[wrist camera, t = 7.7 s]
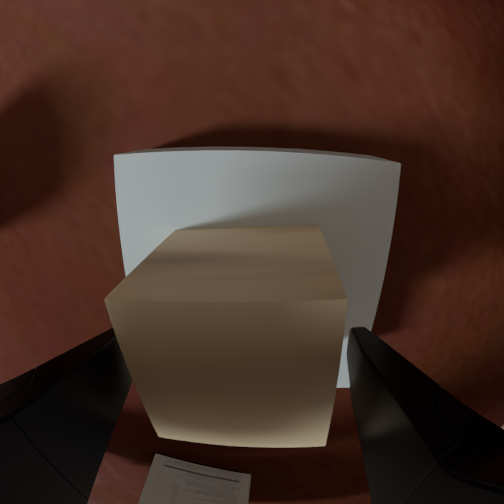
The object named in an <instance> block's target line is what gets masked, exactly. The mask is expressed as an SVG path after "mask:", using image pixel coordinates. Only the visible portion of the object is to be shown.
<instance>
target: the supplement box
mask: <svg viewBox="0 0 504 504" xmlns="http://www.w3.org/2000/svg"><path fill="white" fill-rule="evenodd" d="M250 483H251V475H250V474H245V473H239V472H233V471H227V470H222V469H217V468H212V467H207V466H203V465H198V464H194V463H190V462H186V461H182V460H178V459H175V458H171V457H167V456H164V455H160V454H157V453H156V454H155V455H154V459H153V462H152V465H151V468H150V470H149V473H148V476H147V479H146V482H145V485H144V488H143V491H142V494H141V497H140V500H139V503H138V504H248V500H249V492H250Z"/></svg>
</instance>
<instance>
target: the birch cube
mask: <svg viewBox="0 0 504 504" xmlns="http://www.w3.org/2000/svg"><path fill="white" fill-rule="evenodd" d="M104 301H105V304H106V307H107V310H108V314H109V317H110V320H111V323H112V326H113V329H114V332H115V335H116V338H117V340H118V343H119V346H120V349H121V352H122V354H123V357H124V360H125V362H126V365H127V367H128V370H129V372H130V375H131V377H132V380H133V382H134V385H135V387H136V389H137V392H138V394H139V396H140V399H141V401H142V403H143V405H144V408H145V410H146V412H147V414H148V416H149V418H150V420H151V422H152V425H153V427H154V429H155V431H156V433H157V435H158V437H162V438H168V439H174V440H181V441H188V442H196V443H205V444H215V445H226V446H241V447H269V448H290V447H318V446H326V441H327V436H328V431H329V426H330V421H331V416H332V411H333V405H334V399H335V393H336V387H337V381H338V374H339V368H340V361H341V353H342V345H343V337H344V329H345V319H346V309H347V297H346V294H345V291H344V288H343V286H342V283H341V280H340V278H339V275H338V272H337V269H336V267H335V264H334V262H333V259H332V256H331V254H330V251H329V249H328V246H327V244H326V241H325V239H324V236H323V234H322V231H321V229H320V226H319V225H286V226H256V227H230V228H207V229H187V230H175V231H174V232H172V233H171V234H170V235H169V236H168V237H167V238H166V239H165V240H164V241H163V242H162V243H161V244H160V245H158V246H157V247H156V248H155V249H154V250H153V251H152V252H151V253H150V254H149V255H148V256H147V257H146V258H145V259H144V260H143V261H142V262H141V263H140V264H139V265H138V266H137V267H136V268H135V269H133V270H132V271H131V272H130V273H129V274H128V275H127V276H126V277H125V278H124V279H123V280H122V281H121V282H120V283H119V284H118V285H117V286H116V287H115V288H114V289H113V290H112V291H111V292H110V293H109V294H108V295H107V296H106V298H105V299H104Z"/></svg>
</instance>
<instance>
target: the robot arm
mask: <svg viewBox="0 0 504 504" xmlns="http://www.w3.org/2000/svg"><path fill="white" fill-rule="evenodd" d="M347 364H348V373H349V382H350V392H351V401H352V406H353V411H354V415H355V420H356V425H357V429H358V434H359V439H360V443H361V448H362V453H363V458H364V464H365V469H366V474H367V480H368V485H369V491H370V497H371V503H372V504H504V430H503V429H502V428H500V427H499V426H497V425H495V424H494V423H492V422H491V421H489V420H487V419H486V418H484V417H483V416H481V415H480V414H478V413H477V412H475V411H474V410H472V409H471V408H469V407H468V406H466V405H465V404H463V403H462V402H461V401H459V400H458V399H457V398H455V397H454V396H453V395H451V394H450V393H449V392H448V391H446V390H445V389H444V388H442V389H441V386H440V385H439V384H437V383H436V382H435V381H433V380H432V379H431V378H430V377H428V376H427V375H426V374H425V373H423V372H422V371H421V370H420V369H418V368H417V367H416V366H414V365H413V364H412V363H411V362H409V361H408V360H407V359H406V358H404V357H403V356H402V355H400V354H399V353H398V352H397V351H395V350H394V349H393V348H391V347H390V346H389V345H388V344H386V343H385V342H384V341H383V340H381V339H380V338H379V337H377V336H376V335H375V334H374V333H372V332H371V331H370V330H368V329H367V328H366V327H352V328H351V329H350V332H349V339H348V345H347ZM131 382H132V377H131V375H130V372H129V370H128V367H127V365H126V362H125V360H124V357H123V354H122V352H121V349H120V346H119V343H118V340H117V338H116V335H115V332H114V329H113V328H111V329H109V330H107V331H105V332H104V333H102V334H100V335H98V336H96V337H94V338H92V339H90V340H88V341H86V342H84V343H82V344H80V345H78V346H76V347H75V348H73V349H71V350H69V351H67V352H65V353H63V354H61V355H59V356H57V357H55V358H53V359H51V360H49V361H47V362H45V363H44V364H42V365H40V366H38V367H36V369H35V368H34V369H32V370H30V371H28V372H26V373H24V374H22V375H20V376H18V377H16V378H14V379H11V380H9V381H7V382H5V383H2V384H0V504H87V503H88V499H89V496H90V493H91V490H92V487H93V484H94V482H95V479H96V476H97V473H98V470H99V467H100V464H101V462H102V459H103V456H104V454H105V451H106V448H107V445H108V443H109V440H110V437H111V435H112V432H113V430H114V427H115V424H116V422H117V419H118V417H119V414H120V412H121V409H122V407H123V404H124V402H125V399H126V397H127V394H128V392H129V389H130V386H131Z"/></svg>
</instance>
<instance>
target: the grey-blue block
mask: <svg viewBox="0 0 504 504" xmlns="http://www.w3.org/2000/svg"><path fill="white" fill-rule="evenodd" d="M400 169H401V163H398V162H394V161H390V160H387V159H383V158H379V157H375V156H370V155H362V154H353V153H343V152H332V151H321V150H307V149H291V148H270V147H176V148H155V149H146V150H140V151H134V152H128V153H122V154H116V155H114V171H115V187H116V200H117V211H118V221H119V230H120V239H121V247H122V254H123V261H124V268H125V274H126V276H127V275H128V274H129V273H130V272H131V271H132V270H133V269H135V268H136V267H137V266H138V265H139V264H140V263H141V262H142V261H143V260H144V259H145V258H146V257H147V256H148V255H149V254H150V253H151V252H152V251H153V250H154V249H155V248H156V247H157V246H158V245H160V244H161V243H162V242H163V241H164V240H165V239H166V238H167V237H168V236H169V235H170V234H171V233H172V232H174V231H175V230H187V229H207V228H230V227H256V226H286V225H319V226H320V229H321V231H322V234H323V236H324V239H325V241H326V244H327V246H328V249H329V251H330V254H331V256H332V259H333V262H334V264H335V267H336V269H337V272H338V275H339V278H340V280H341V283H342V286H343V288H344V291H345V294H346V297H347V309H346V319H345V329H344V337H343V345H342V353H341V361H340V368H339V374H338V381H337V387H336V388H350V382H349V373H348V364H347V345H348V339H349V332H350V329H351V328H352V327H366V328H367V329H368V330H370V331H371V330H372V326H373V322H374V318H375V314H376V310H377V306H378V302H379V298H380V294H381V289H382V285H383V280H384V275H385V270H386V265H387V260H388V255H389V250H390V244H391V238H392V232H393V226H394V219H395V212H396V205H397V197H398V189H399V179H400Z"/></svg>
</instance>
